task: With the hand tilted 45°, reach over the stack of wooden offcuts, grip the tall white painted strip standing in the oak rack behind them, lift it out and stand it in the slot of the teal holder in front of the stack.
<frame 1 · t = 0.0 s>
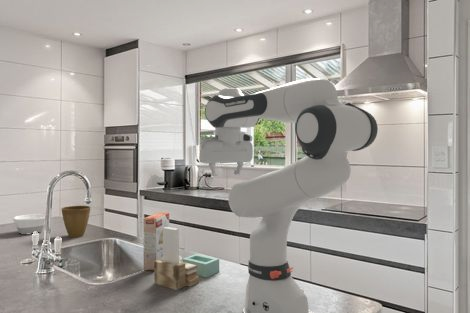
hand: (225, 175, 130), 39 cm above the worktop, tool pointing down, fingers open, 8 cm apart
plant pot: (76, 236, 206), on the worktop
teal holder: (201, 271, 145), on the worktop
bowl: (31, 232, 216), on the worktop
offcut stack: (180, 272, 135), on the worktop
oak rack: (171, 283, 132), on the worktop
cracker box: (157, 265, 153), on the worktop
white strip: (171, 256, 131), in the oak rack
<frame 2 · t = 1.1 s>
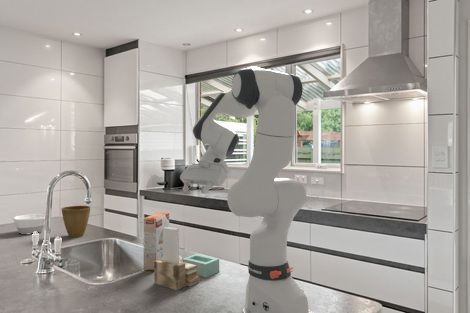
hand: (193, 191, 141), 32 cm above the worktop, tool tilted 45°, fingers open, 8 cm apart
nothing on the worktop moved.
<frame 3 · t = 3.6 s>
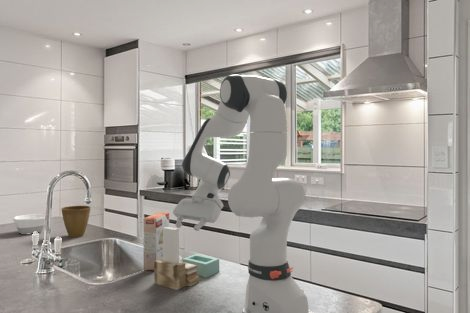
hand: (186, 228, 138), 19 cm above the worktop, tool tilted 45°, fingers open, 8 cm apart
nothing on the worktop moved.
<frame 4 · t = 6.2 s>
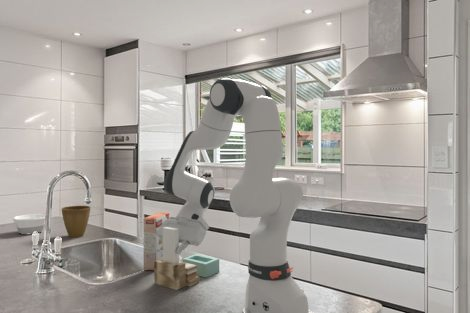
hand: (169, 251, 131), 12 cm above the worktop, tool tilted 45°, fingers closed on white strip, 6 cm apart
white strip: (171, 256, 131), in the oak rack, touching gripper
everything else where it was.
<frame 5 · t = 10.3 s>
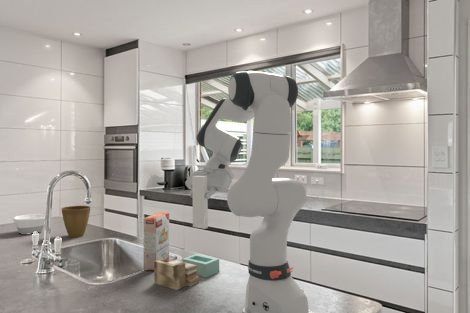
hand: (198, 197, 143), 29 cm above the worktop, tool tilted 45°, fingers closed on white strip, 6 cm apart
white strip: (200, 201, 144), point 27 cm above the worktop, touching gripper
everything else where it was.
when the fingers open (14 cm above the worktop, at t = 14.7 s): white strip drops 1 cm, resting on teal holder.
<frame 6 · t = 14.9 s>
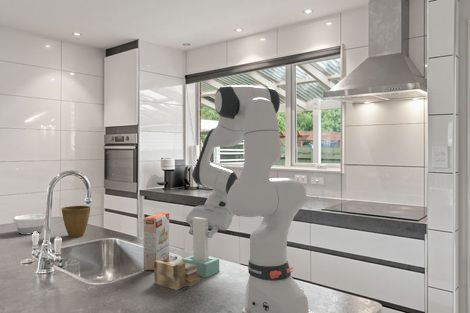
hand: (199, 235, 144), 14 cm above the worktop, tool tilted 45°, fingers open, 8 cm apart
white strip: (200, 243, 144), in the teal holder, point 11 cm above the worktop
everything else where it was.
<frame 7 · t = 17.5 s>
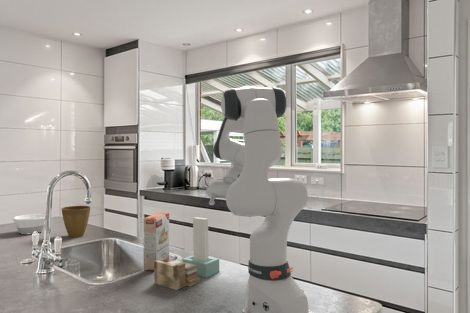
hand: (219, 205, 154), 24 cm above the worktop, tool tilted 45°, fingers open, 8 cm apart
nothing on the worktop moved.
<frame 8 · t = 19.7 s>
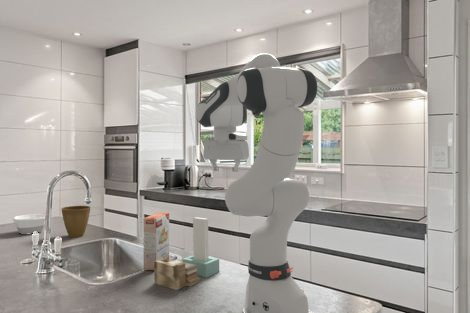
hand: (225, 171, 145), 39 cm above the worktop, tool pointing down, fingers open, 8 cm apart
nothing on the worktop moved.
at the end: white strip 0.1 cm off-centre on the teal holder, point 11.0 cm above the teal holder's base; white strip tilted 0°; the gripper is holding nothing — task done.
